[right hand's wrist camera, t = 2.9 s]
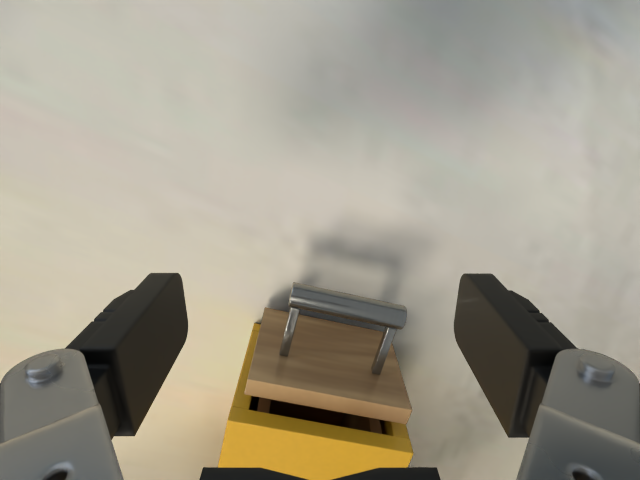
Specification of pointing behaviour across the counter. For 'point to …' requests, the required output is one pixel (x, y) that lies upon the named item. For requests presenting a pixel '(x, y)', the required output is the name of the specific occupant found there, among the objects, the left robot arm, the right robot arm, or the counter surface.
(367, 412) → the drawer
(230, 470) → the right robot arm
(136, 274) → the counter surface
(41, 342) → the counter surface
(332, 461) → the cabinet
